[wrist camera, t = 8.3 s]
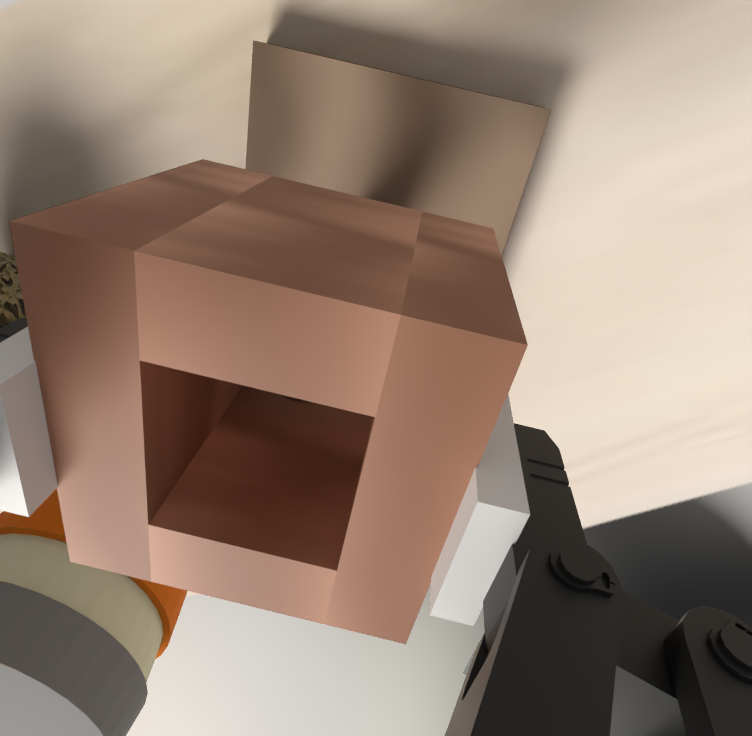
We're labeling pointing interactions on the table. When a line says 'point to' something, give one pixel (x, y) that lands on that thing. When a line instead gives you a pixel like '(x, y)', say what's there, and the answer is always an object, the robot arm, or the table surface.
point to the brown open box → (266, 386)
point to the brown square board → (390, 137)
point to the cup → (10, 291)
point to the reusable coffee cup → (73, 634)
